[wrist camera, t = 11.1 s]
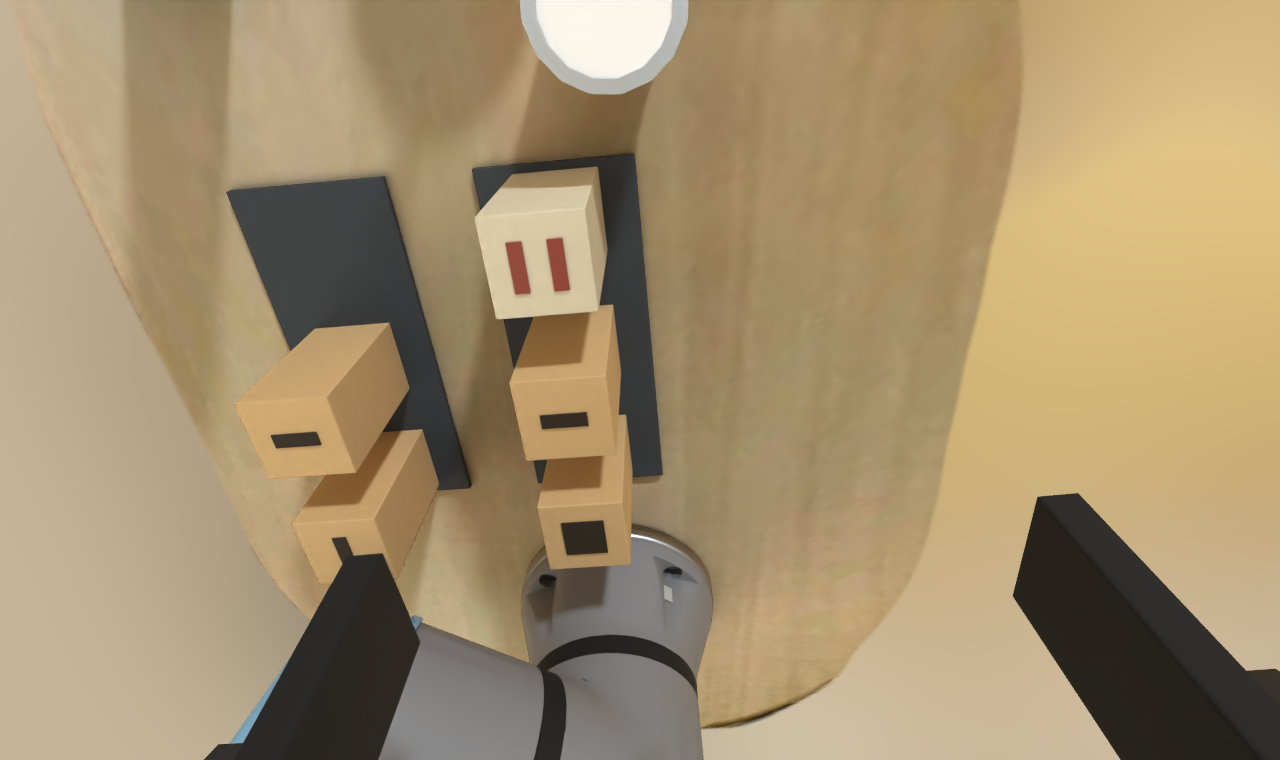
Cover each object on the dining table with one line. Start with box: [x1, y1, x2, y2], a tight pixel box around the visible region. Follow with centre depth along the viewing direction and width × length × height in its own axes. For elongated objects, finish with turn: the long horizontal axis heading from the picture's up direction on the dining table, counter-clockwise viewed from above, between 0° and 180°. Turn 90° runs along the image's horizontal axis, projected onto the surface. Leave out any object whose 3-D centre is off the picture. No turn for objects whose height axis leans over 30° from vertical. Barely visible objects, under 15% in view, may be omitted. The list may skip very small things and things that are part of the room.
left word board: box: [226, 176, 471, 584], centre depth 37 cm, size 22×9×10 cm, turn 5°
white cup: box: [520, 0, 688, 94], centre depth 28 cm, size 7×7×7 cm
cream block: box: [474, 167, 608, 319], centre depth 32 cm, size 5×5×9 cm
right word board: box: [472, 153, 663, 569], centre depth 36 cm, size 22×9×10 cm, turn 5°
